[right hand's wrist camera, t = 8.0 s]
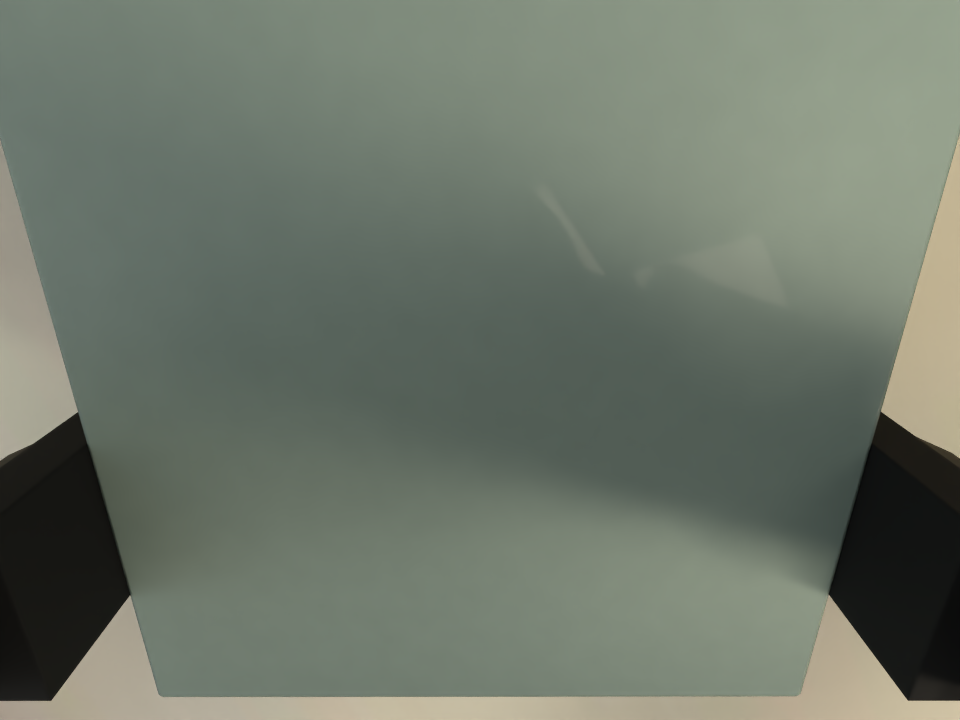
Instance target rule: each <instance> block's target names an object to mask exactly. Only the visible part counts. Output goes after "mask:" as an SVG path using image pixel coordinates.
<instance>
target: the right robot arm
mask: <svg viewBox="0 0 960 720" xmlns="http://www.w3.org/2000/svg"><path fill="white" fill-rule="evenodd" d="M829 595H830V597H831V598H832V599H833V601H834V602H835V603H836V605H837V606H838V607H839V609H840V610H841V611H842V613H843V614H844V615H845V617H846V618H847V619H848V621H849V622H850V623H851V625H852V626H853V627H854V629H855V630H856V631H857V633H858V634H859V635H860V637H861V638H862V639H863V641H864V642H865V643H866V645H867V646H868V647H869V649H870V650H871V652H872V653H873V654H874V656H875V657H876V658H877V660H878V661H879V662H880V664H881V665H882V666H883V668H884V669H885V670H886V672H887V673H888V674H889V676H890V677H891V678H892V680H893V681H894V682H895V684H896V685H897V686H898V688H899V689H900V690H901V692H902V693H903V694H904V696H905V697H906V698H907V700H908V701H960V458H958V457H957V456H955V455H954V454H952V453H951V452H948V451H946V450H944V449H942V448H939V447H937V446H935V445H933V444H931V443H928V442H926V441H924V440H922V439H920V438H917V437H915V436H914V435H913V434H911V433H910V432H908V431H907V430H906V429H904V428H903V427H901V426H900V425H899V424H897V423H896V422H894V421H893V420H892V419H890V418H889V417H887V416H886V415H885V414H883V413H882V412H880V415H879V419H878V422H877V426H876V429H875V433H874V437H873V440H872V444H871V447H870V451H869V454H868V458H867V461H866V465H865V468H864V472H863V475H862V479H861V482H860V486H859V489H858V493H857V496H856V500H855V503H854V507H853V510H852V514H851V517H850V521H849V525H848V528H847V532H846V535H845V539H844V542H843V546H842V549H841V553H840V556H839V560H838V563H837V567H836V570H835V574H834V577H833V581H832V584H831V588H830V591H829ZM129 596H130V592H129V588H128V585H127V581H126V578H125V574H124V571H123V567H122V563H121V560H120V556H119V553H118V549H117V546H116V542H115V539H114V535H113V532H112V528H111V525H110V521H109V518H108V514H107V511H106V507H105V504H104V500H103V497H102V493H101V490H100V486H99V483H98V479H97V476H96V472H95V469H94V465H93V462H92V458H91V455H90V451H89V448H88V444H87V441H86V437H85V434H84V430H83V427H82V423H81V420H80V416H79V413H76V414H75V415H73V416H72V417H71V418H69V419H68V420H66V421H65V422H63V423H62V424H61V425H59V426H58V427H56V428H55V429H54V430H52V431H51V432H49V433H48V434H47V435H45V436H44V437H42V438H41V439H40V440H38V441H37V442H35V443H34V444H32V445H30V446H28V447H25V448H23V449H21V450H19V451H17V452H15V453H12V454H10V455H8V456H7V457H5V458H4V459H2V460H1V461H0V701H51V700H52V699H53V698H54V696H55V695H56V694H57V692H58V691H59V690H60V688H61V687H62V686H63V684H64V683H65V681H66V680H67V679H68V677H69V676H70V675H71V673H72V672H73V671H74V669H75V668H76V667H77V665H78V664H79V663H80V661H81V660H82V659H83V657H84V656H85V655H86V653H87V652H88V651H89V649H90V648H91V647H92V645H93V644H94V643H95V641H96V640H97V639H98V637H99V636H100V635H101V633H102V632H103V631H104V629H105V628H106V626H107V625H108V624H109V622H110V621H111V620H112V618H113V617H114V616H115V614H116V613H117V612H118V610H119V609H120V608H121V606H122V605H123V604H124V602H125V601H126V600H127V598H128V597H129Z"/></svg>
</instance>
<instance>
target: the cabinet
mask: <svg viewBox="0 0 960 720" xmlns="http://www.w3.org/2000/svg"><path fill="white" fill-rule="evenodd" d="M959 134H960V0H0V139H1V143H2V147H3V150H4V154H5V157H6V161H7V164H8V168H9V171H10V175H11V178H12V182H13V185H14V189H15V192H16V196H17V199H18V203H19V206H20V210H21V213H22V217H23V220H24V224H25V227H26V231H27V234H28V238H29V241H30V245H31V248H32V252H33V255H34V259H35V262H36V266H37V269H38V273H39V276H40V280H41V283H42V287H43V290H44V294H45V297H46V301H47V304H48V308H49V311H50V315H51V318H52V322H53V325H54V329H55V332H56V336H57V339H58V343H59V346H60V350H61V353H62V357H63V360H64V364H65V367H66V371H67V374H68V378H69V381H70V385H71V388H72V392H73V395H74V399H75V402H76V406H77V409H78V413H79V416H80V420H81V423H82V427H83V430H84V434H85V437H86V441H87V444H88V448H89V451H90V455H91V458H92V462H93V465H94V469H95V472H96V476H97V479H98V483H99V486H100V490H101V493H102V497H103V500H104V504H105V507H106V511H107V514H108V518H109V521H110V525H111V528H112V532H113V535H114V539H115V542H116V546H117V549H118V553H119V556H120V560H121V563H122V567H123V571H124V574H125V578H126V581H127V585H128V588H129V592H130V595H131V599H132V602H133V606H134V609H135V613H136V616H137V620H138V623H139V627H140V630H141V634H142V637H143V641H144V644H145V648H146V651H147V655H148V658H149V662H150V665H151V669H152V672H153V676H154V679H155V683H156V686H157V690H158V693H159V695H160V696H162V697H559V696H798V695H799V694H800V693H801V690H802V686H803V683H804V679H805V676H806V672H807V669H808V665H809V662H810V658H811V655H812V651H813V648H814V644H815V641H816V637H817V634H818V630H819V627H820V623H821V620H822V616H823V613H824V609H825V605H826V602H827V598H828V595H829V591H830V588H831V584H832V581H833V577H834V574H835V570H836V567H837V563H838V560H839V556H840V553H841V549H842V546H843V542H844V539H845V535H846V532H847V528H848V525H849V521H850V517H851V514H852V510H853V507H854V503H855V500H856V496H857V493H858V489H859V486H860V482H861V479H862V475H863V472H864V468H865V465H866V461H867V458H868V454H869V451H870V447H871V444H872V440H873V437H874V433H875V429H876V426H877V422H878V419H879V415H880V412H881V408H882V405H883V401H884V398H885V394H886V391H887V387H888V384H889V380H890V377H891V373H892V370H893V366H894V363H895V359H896V356H897V352H898V349H899V345H900V341H901V338H902V334H903V331H904V327H905V324H906V320H907V317H908V313H909V310H910V306H911V303H912V299H913V296H914V292H915V289H916V285H917V282H918V278H919V275H920V271H921V268H922V264H923V261H924V257H925V253H926V250H927V246H928V243H929V239H930V236H931V232H932V229H933V225H934V222H935V218H936V215H937V211H938V208H939V204H940V201H941V197H942V194H943V190H944V187H945V183H946V180H947V176H948V173H949V169H950V165H951V162H952V158H953V155H954V151H955V148H956V144H957V141H958V137H959Z"/></svg>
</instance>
